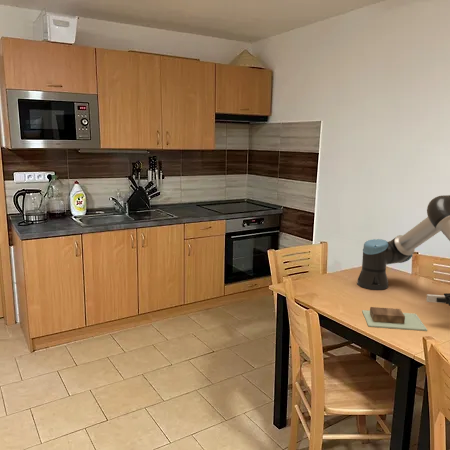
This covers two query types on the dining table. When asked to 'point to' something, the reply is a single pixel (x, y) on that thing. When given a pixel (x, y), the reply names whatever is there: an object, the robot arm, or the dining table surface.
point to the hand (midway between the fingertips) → (427, 298)
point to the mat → (410, 323)
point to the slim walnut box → (387, 315)
